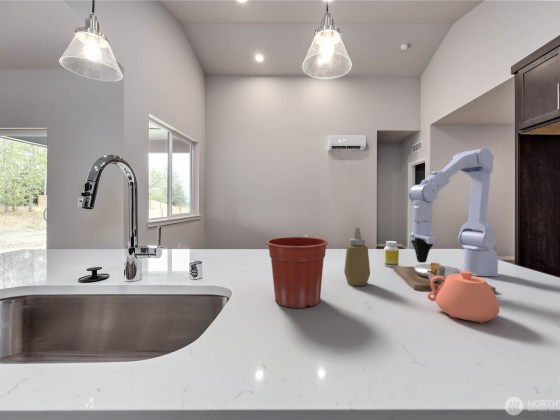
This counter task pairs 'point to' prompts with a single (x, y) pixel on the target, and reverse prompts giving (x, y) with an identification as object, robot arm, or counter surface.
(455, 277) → the sugar bowl
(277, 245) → the flower pot
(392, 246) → the supplement bottle
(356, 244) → the squeeze bottle
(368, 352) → the counter surface
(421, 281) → the post board
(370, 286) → the counter surface
